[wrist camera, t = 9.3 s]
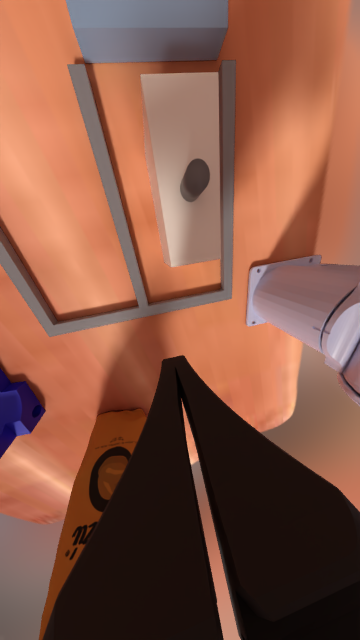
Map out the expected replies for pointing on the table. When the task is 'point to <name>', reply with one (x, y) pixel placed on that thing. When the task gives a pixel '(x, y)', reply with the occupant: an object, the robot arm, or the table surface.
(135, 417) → the coffee package
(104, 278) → the table surface
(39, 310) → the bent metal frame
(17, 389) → the cable clip
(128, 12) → the blue-grey bar
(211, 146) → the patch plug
